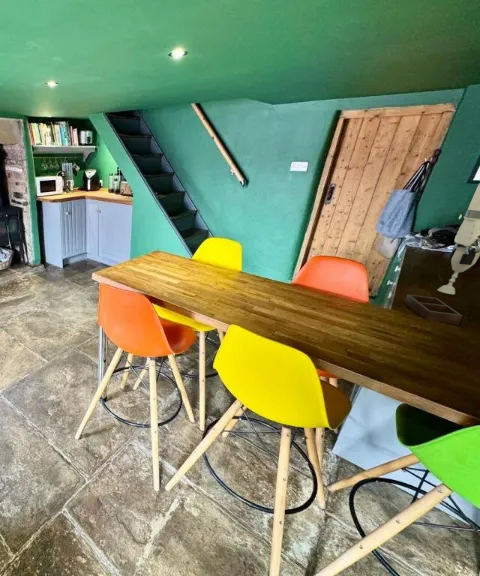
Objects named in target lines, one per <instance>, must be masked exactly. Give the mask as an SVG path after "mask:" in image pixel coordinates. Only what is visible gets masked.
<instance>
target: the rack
mask: <svg viewBox="0 0 480 576" xmlns="http://www.w3.org/2000/svg"><path fill="white" fill-rule="evenodd" d="M403 304H404V305H405V306H407V307H406V308H407V309H408V310H412V311H413V310H414V311H415V312H416V313H417V314H418V315H420V317H422V319H423V320H427V321H432V322H437V323H444V324H452V325H459V324H460V322H461V320H462V317H463V315H462V314H461V313H460V312H458V311H456V310H455V309H453V308H452V307H450V305H447V304H446V303H445V302H443V301H442V300H440V299H439V298H437V297H432V296H424V295H415V294H409V293H408V294H406V297H405V299H404V301H403Z"/></svg>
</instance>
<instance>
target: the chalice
mask: <svg viewBox="0 0 480 576" xmlns="http://www.w3.org/2000/svg"><path fill="white" fill-rule="evenodd" d="M471 249H473V248H470V250H471ZM465 251H466V247H465V248H463V247H458V246H457V247H456V251H455V253H454V255H453V257H452V259H451V260H450V261H451V263H450V264H451V269H452V271H454V273H453V274H452V275H451V278H450V279H448V284H444V285H441V286H440V287H439V288H437V290H436V291H438V292H440V293H444V294H449V295H455V294H456V288H455V287H454V286H453V284H454V283H455V282H456V279H457V278H458V277H459V276H458V275H459V273H463V272H465V271H467V270H469V269H470V268H471V267H472V266H474V265H475V264H476V262H477V261H478V259H479V257H480V251H479V252H478V253H477V255H476V256H475V258H474V260H473V262H472V264H471V265H464V264H459V262H460V260H461V257H462V255H463V254H465Z"/></svg>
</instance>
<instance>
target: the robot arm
mask: <svg viewBox="0 0 480 576" xmlns="http://www.w3.org/2000/svg"><path fill="white" fill-rule="evenodd" d="M463 219H464V220H463V221H462V223H461V224H460V226H459V228H458V231H457V233H456V235H455V237H454V240H453V241H454V242H453V247H452V250H451V252H450V255H449V257H448V259H449V260H450V261H451V259H452V257H453V255H454V253H455V251H456V247H457V246H458V247H463V248H465V247H466V251H465V254H463V255H462V257H461V260H460V262H459V264H464V265H471V264H472V262H473V260H474V258H475V256H476V255H477V253H478V252H479V251H480V183H478V185H477V187H476V190H475V191H474V194H473V195H472V199H471V201H470V203H469V205H468V208H467V210H466V212H465V215H464V217H463ZM470 248H473V249H471V250H470Z"/></svg>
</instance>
